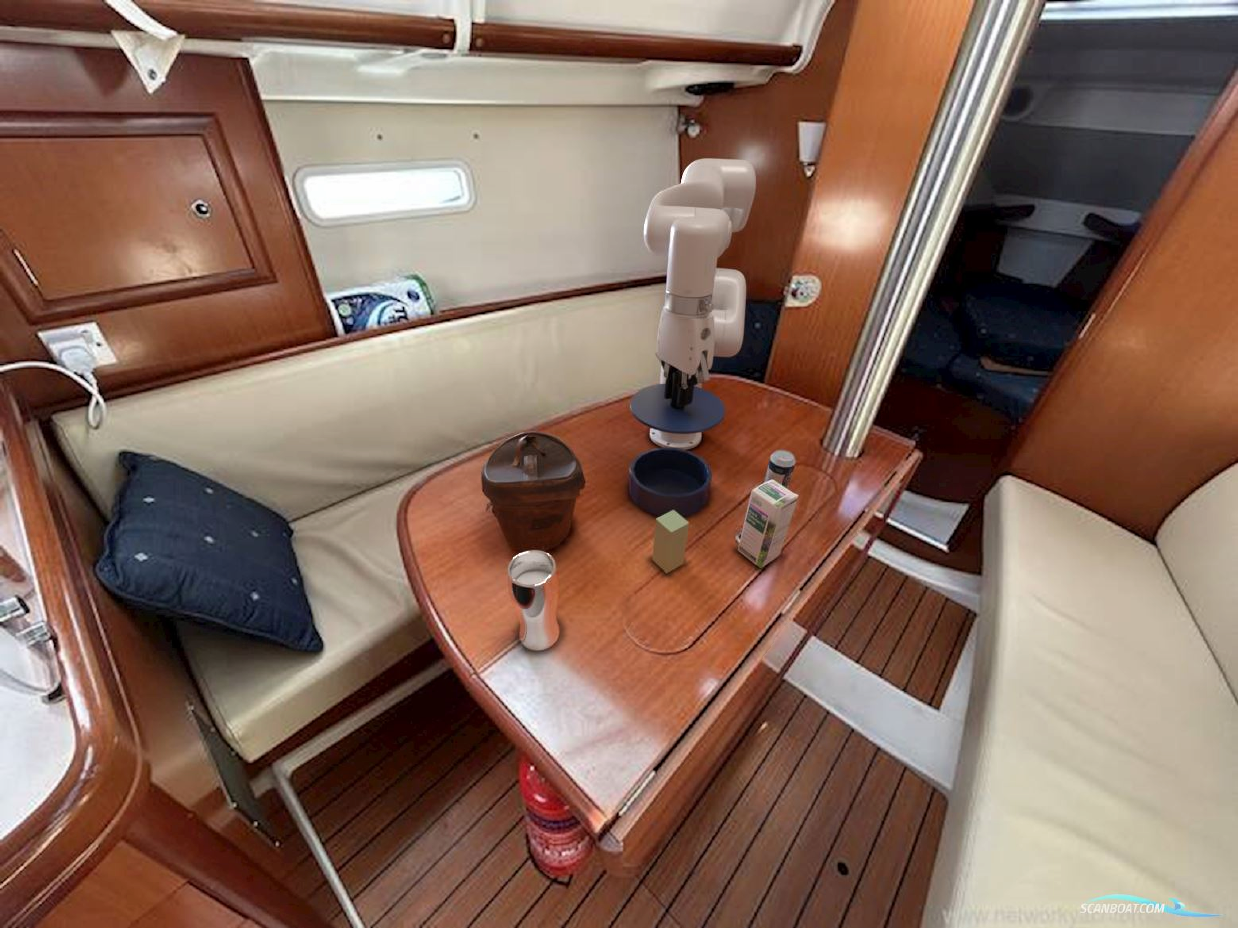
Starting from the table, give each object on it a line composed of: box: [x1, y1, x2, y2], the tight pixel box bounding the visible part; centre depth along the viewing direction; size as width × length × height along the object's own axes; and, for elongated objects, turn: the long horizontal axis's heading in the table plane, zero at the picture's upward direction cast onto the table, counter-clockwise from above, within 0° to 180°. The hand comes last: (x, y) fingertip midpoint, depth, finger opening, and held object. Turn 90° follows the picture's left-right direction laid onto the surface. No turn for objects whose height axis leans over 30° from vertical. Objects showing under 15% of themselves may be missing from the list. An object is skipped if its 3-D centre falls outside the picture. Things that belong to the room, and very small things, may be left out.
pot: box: [628, 447, 713, 518], centre depth 104 cm, size 17×17×5 cm
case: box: [480, 430, 587, 552], centre depth 91 cm, size 18×20×18 cm
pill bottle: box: [763, 449, 797, 490], centre depth 100 cm, size 5×5×12 cm
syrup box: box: [737, 479, 799, 569], centre depth 88 cm, size 6×6×14 cm
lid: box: [629, 370, 726, 434], centre depth 92 cm, size 18×18×8 cm
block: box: [652, 510, 690, 574], centre depth 87 cm, size 4×4×10 cm
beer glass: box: [506, 550, 560, 652], centre depth 73 cm, size 7×7×15 cm
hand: (678, 400), depth 93 cm, fingers closed on lid, 2 cm apart
